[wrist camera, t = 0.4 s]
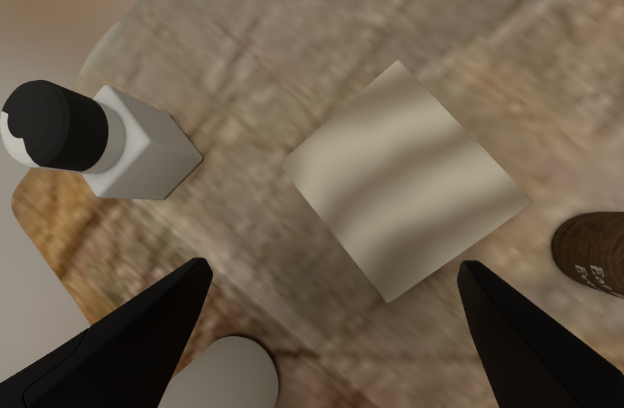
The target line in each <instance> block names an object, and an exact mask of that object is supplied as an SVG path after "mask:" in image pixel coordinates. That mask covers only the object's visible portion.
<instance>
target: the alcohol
mask: <svg viewBox="0 0 624 408" xmlns="http://www.w3.org/2000/svg"><path fill="white" fill-rule="evenodd" d="M277 396H278V377H277V374H276V370H275V367H274V364H273V362H272V360H271V358H270V356H269V355H268V353H267V352H266V350H265V349H263V348H262V347H261V346H260V345H259V344H258V343H256V342H255V341H253V340H250V339H248V338H244V337H238V336H228V337H224V338H221V339H219V340H217V341H215V342H214V343H212V344H211V345H210V346H209V347H208V348H207V349H205V350H204V351H203V352H202V353H201V354H200V355H199V356H198V357H196V358H195V359H194V360H193V361H192V362H191V363H190V364H189V365H187V366H186V367H185V368H184V369H183V370H182V371H181V372H180V373H178V374H177V375H176V376H175V377H174V378H173V379H172V380H171V381H170V382H169V384H168V386H167V388H166V390H165V393H164V395H163V397H162V399H161V401H160V404H159V406H158V408H274V406H275V404H276V400H277Z"/></svg>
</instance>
